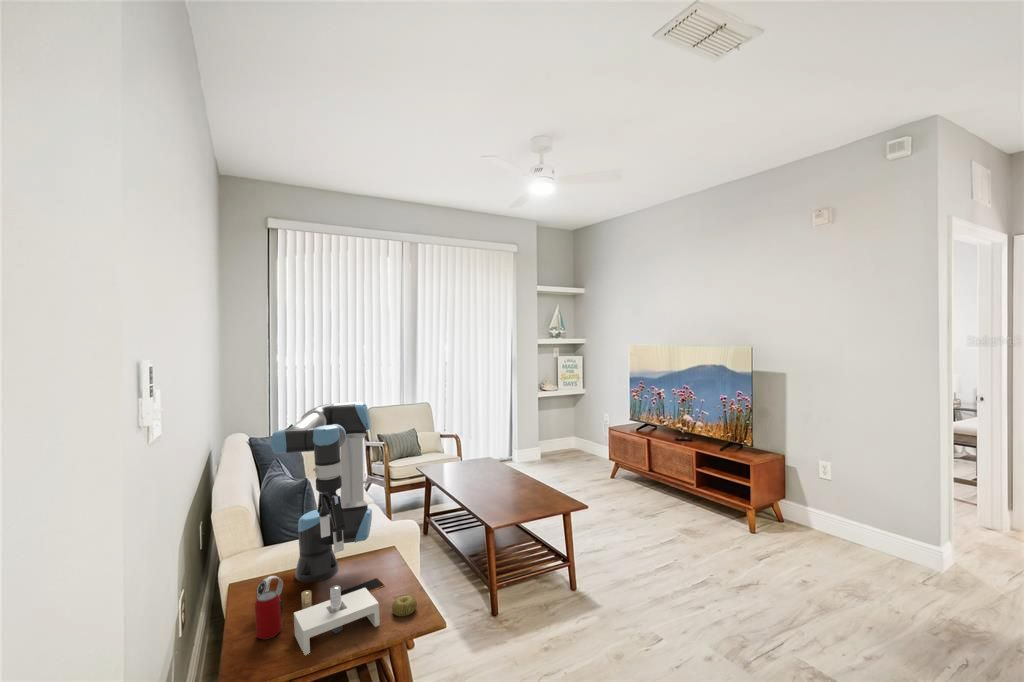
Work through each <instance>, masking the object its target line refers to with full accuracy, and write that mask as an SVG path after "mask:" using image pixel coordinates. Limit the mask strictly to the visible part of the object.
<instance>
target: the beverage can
mask: <svg viewBox="0 0 1024 682" xmlns="http://www.w3.org/2000/svg"><path fill="white" fill-rule="evenodd" d="M256 597H257V596H256ZM280 600H281V598H280V596H279V595H278V594H277V592H276V590H269V591H267V592H264V593H262V594H260V595H259V596H258V597H257V598H256V601H255V603H254V609H255V610H254V611H255V626H256V627H255V628H256V632H255V633H256V637H257V638H258V639H261V640H269V639H272V638H274V637H276V636H277V635H278V634H279V633H280V632H281V630H282V615H281V612H282V611H280Z"/></svg>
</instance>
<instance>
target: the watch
mask: <svg viewBox="0 0 1024 682" xmlns="http://www.w3.org/2000/svg"><path fill="white" fill-rule="evenodd" d="M273 579H277V580H278V583H277V586H276V589H275V591H276V592H277V594H278V595H279V597H280V596H281V594H282V591H283V587H284V581H283V579H281V577H278V576H276V575H269V576H267V577H265V578H263V580H262V581H260V582H259V583H258V585H257V587H256V592H255V593H256V594H255V595H256V597H258V596H259V595H260V594H262V593H264V592H267V591H270V585H271V582H272V580H273ZM282 610H283V601H282V599H280V612H282Z"/></svg>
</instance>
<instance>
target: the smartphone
mask: <svg viewBox="0 0 1024 682" xmlns="http://www.w3.org/2000/svg"><path fill="white" fill-rule="evenodd" d="M384 585H385V583H383V582H382V581H381V580H380V579H379V578H378V577H376V578H373V579H369V580H368V581H364V582H362V583H359V584H357V585H353V586H351V587H349V588H345V589H343V590H341V596H342V595H345V594H348V593H351V592H354V591H357V590H359V589H362V588H366V589H367V590H368V591H369V592H370V591H372V590H375V589H377V588H380V587H382V586H384ZM384 587H385V586H384ZM382 588H383V587H382ZM380 589H381V588H380ZM377 590H378V589H377ZM375 591H376V590H375ZM372 592H373V591H372ZM370 593H371V592H370Z"/></svg>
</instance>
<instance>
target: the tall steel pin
mask: <svg viewBox="0 0 1024 682" xmlns="http://www.w3.org/2000/svg"><path fill="white" fill-rule="evenodd" d="M329 590H330V591H329V595H330V597H329V598H330V599H329V600H331V614H333V613H336V612H339V611H341V610H343V609H341V591H342V590H341V585H333V586H331V587H329ZM341 630H343V625H341V626H339V627H336V628H334V629H331V632H332V633H333V632H334V633H333V634H338V633H340V632H341Z"/></svg>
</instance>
